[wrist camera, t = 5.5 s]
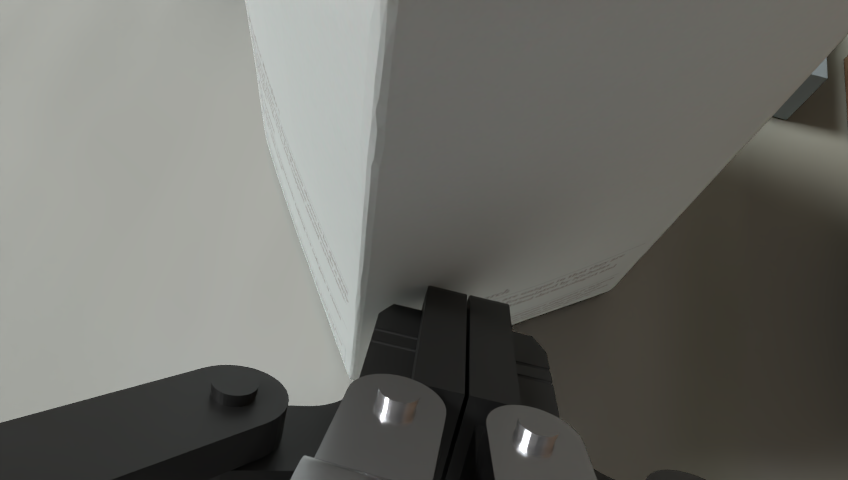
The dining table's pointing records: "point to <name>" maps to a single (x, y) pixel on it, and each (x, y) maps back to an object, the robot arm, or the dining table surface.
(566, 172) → the supplement box
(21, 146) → the dining table surface
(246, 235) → the dining table surface
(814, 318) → the dining table surface
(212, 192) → the dining table surface
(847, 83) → the walnut partition
